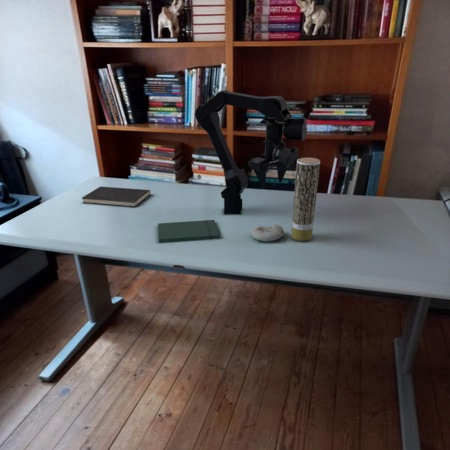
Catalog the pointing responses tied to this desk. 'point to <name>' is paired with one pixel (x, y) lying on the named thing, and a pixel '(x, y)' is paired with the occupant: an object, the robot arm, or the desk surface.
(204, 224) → the notebook
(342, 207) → the desk surface
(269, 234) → the fossil
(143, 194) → the hardcover book
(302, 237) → the paper tube
